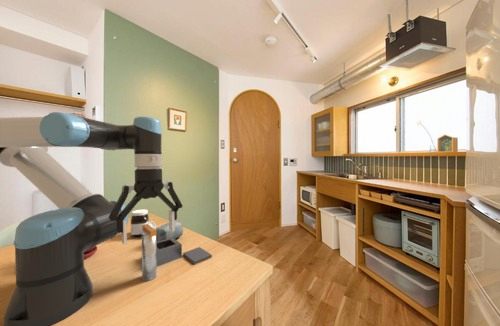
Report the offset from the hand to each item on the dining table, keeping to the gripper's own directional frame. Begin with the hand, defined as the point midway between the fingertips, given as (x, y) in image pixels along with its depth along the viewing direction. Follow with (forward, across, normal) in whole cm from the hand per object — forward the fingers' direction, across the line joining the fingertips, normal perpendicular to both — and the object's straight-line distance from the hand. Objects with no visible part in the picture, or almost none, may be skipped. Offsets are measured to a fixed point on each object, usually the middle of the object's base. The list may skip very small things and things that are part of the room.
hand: (150, 236), depth 59 cm
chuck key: (+13, 0, 0) cm, 13 cm away
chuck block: (+13, +8, +9) cm, 18 cm away
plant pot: (+13, -15, +33) cm, 39 cm away
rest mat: (+13, +17, +1) cm, 21 cm away
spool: (+13, +15, +23) cm, 31 cm away
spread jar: (+13, +9, +39) cm, 42 cm away
